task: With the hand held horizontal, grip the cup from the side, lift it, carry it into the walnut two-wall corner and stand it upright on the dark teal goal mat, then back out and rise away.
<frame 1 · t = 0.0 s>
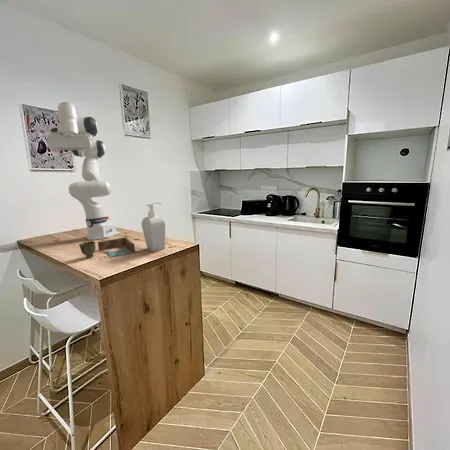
hand: (71, 157, 133), 52 cm above the countertop, tool tilted 20°, fingers open, 8 cm apart
soap bottle: (157, 248, 144), on the countertop
cup: (89, 257, 135), on the countertop
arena: (118, 253, 139), on the countertop
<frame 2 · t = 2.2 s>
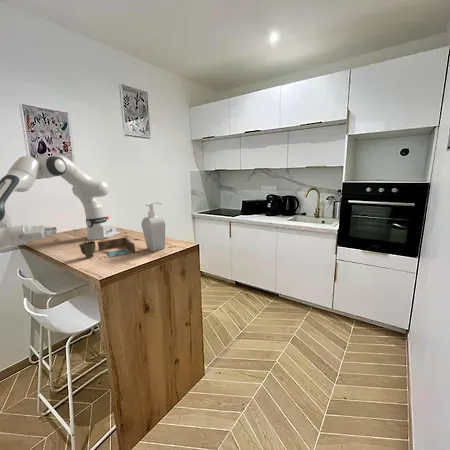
hand: (56, 230, 125), 17 cm above the countertop, tool horizontal, fingers open, 8 cm apart
nothing on the countertop moved.
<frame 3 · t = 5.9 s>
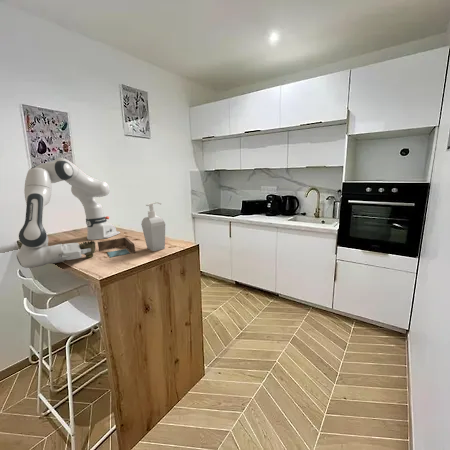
hand: (90, 247, 134), 5 cm above the countertop, tool horizontal, fingers closed on cup, 7 cm apart
cup: (89, 257, 135), on the countertop, touching gripper
everything else where it was.
when the fingers open (7 cm above the countertop, at t = 11.5 s): cup drops 1 cm, resting on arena.
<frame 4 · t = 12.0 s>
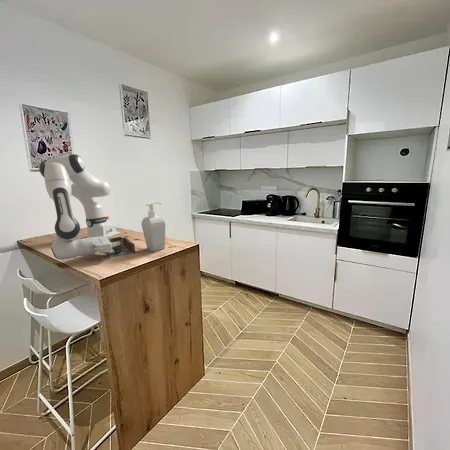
hand: (118, 241, 138), 7 cm above the countertop, tool horizontal, fingers open, 8 cm apart
cup: (118, 252, 139), resting on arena
everything else where it was.
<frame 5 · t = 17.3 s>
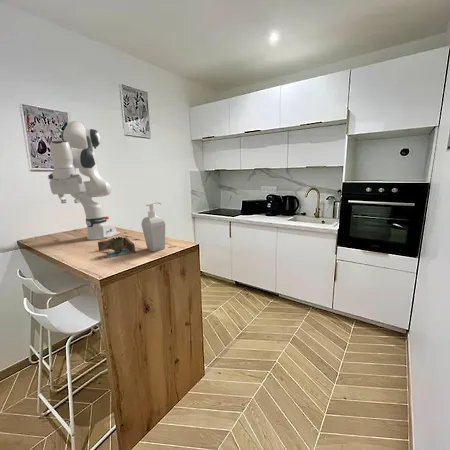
hand: (70, 203, 127), 29 cm above the countertop, tool pointing down, fingers open, 8 cm apart
nothing on the countertop moved.
at the end: cup inside the target area on the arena (0.3 cm from its centre), point 0.2 cm above the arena's base; cup tilted 0°; the gripper is holding nothing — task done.
